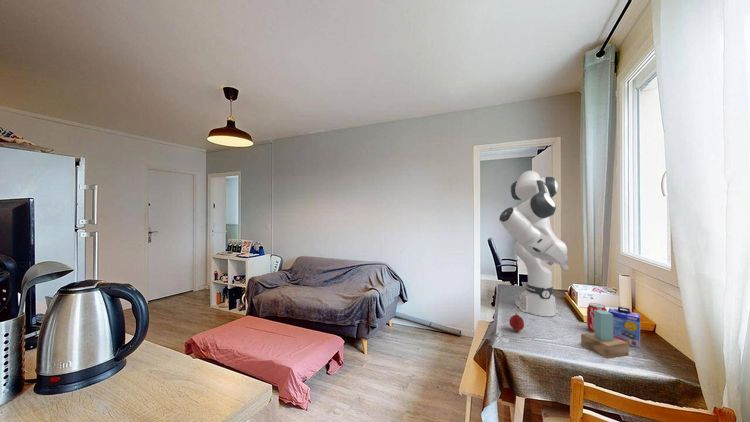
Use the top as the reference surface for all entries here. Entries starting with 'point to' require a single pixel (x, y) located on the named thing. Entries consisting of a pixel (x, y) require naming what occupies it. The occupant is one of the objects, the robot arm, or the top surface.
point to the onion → (516, 322)
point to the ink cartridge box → (626, 326)
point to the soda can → (593, 315)
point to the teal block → (604, 325)
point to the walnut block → (605, 346)
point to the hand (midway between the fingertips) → (558, 266)
